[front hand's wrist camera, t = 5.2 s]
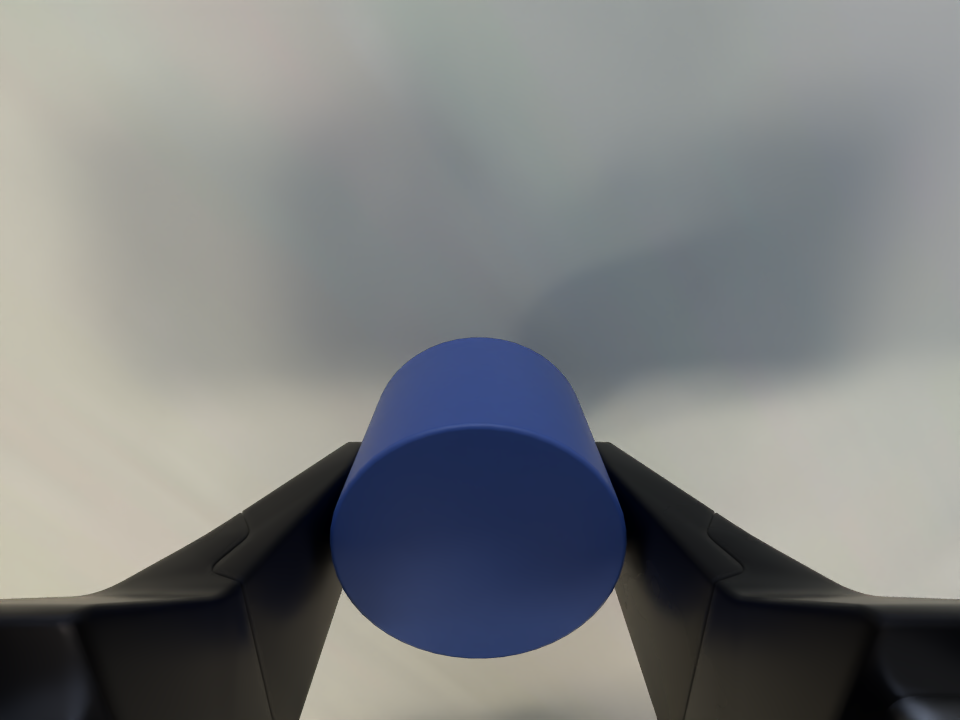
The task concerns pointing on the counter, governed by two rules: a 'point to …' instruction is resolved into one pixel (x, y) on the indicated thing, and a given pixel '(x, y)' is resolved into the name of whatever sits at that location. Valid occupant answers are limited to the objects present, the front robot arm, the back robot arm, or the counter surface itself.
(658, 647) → the front robot arm
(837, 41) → the counter surface
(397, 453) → the cylinder
